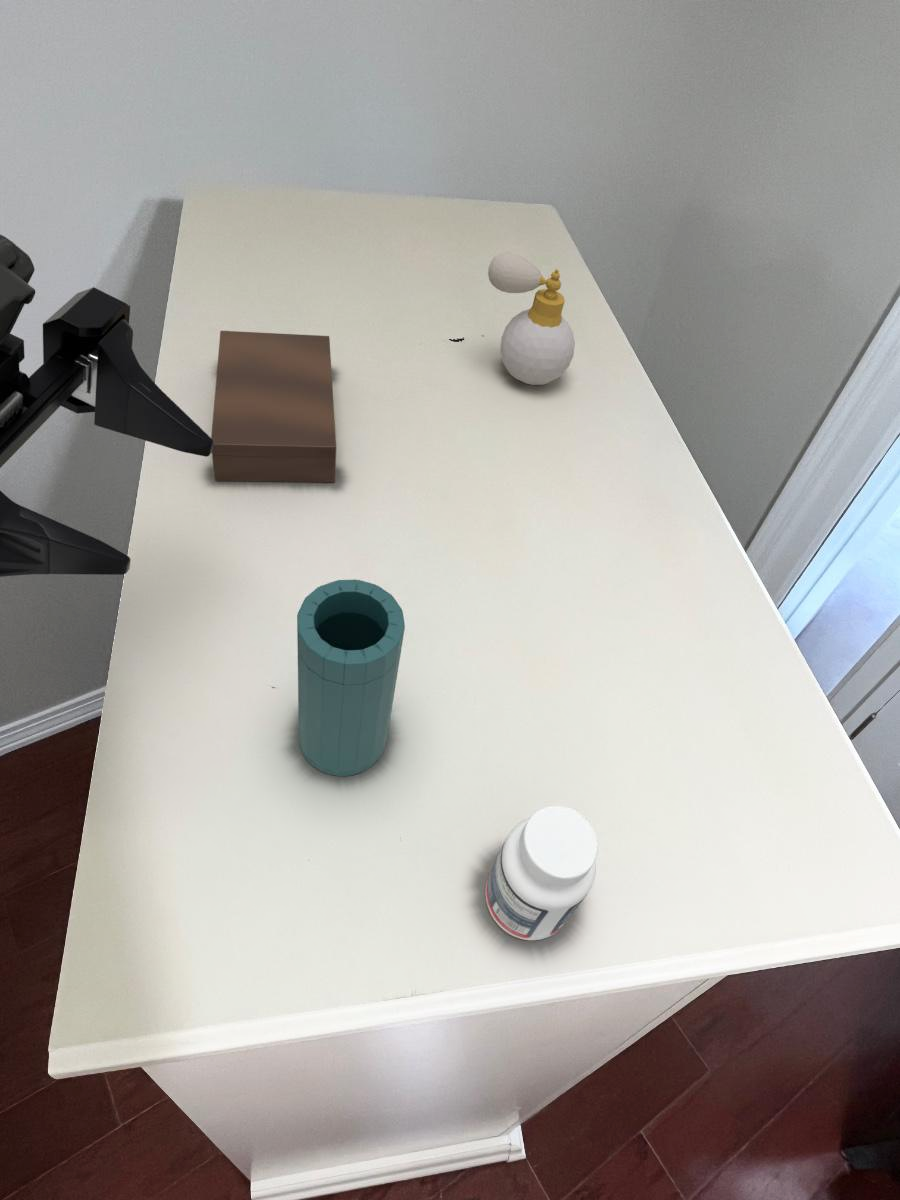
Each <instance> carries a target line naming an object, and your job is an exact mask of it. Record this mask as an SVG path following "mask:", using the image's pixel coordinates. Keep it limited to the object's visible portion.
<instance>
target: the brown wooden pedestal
mask: <svg viewBox="0 0 900 1200" xmlns="http://www.w3.org/2000/svg"><path fill="white" fill-rule="evenodd" d="M218 343H219V344H218V352H217V353H218V355H217V366H216V379H215V388H214V389H215V390H214V401H213V402H214V403H213V413H212V425H211V435H210V438H211V439H212V440H213V442H214V445H213V449H212V453H211V458H212V466H213V475H214V481H216V482H271V483H272V482H273V483H275V482H276V483H331V484H332V483H335V482H336V465H337V464H336V462H337V436H336V421H335V405H334V390H333V387H334V386H333V372H332V356H331V339H330V335H317V334H316V335H315V334H314V335H313V334H300V333H299V334H297V333H296V334H295V333H275V332H256V331H239V330H238V331H237V330H236V331H235V330H220V331H219V342H218Z"/></svg>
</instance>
